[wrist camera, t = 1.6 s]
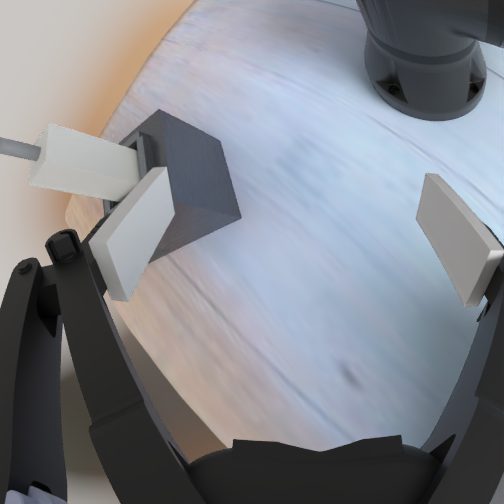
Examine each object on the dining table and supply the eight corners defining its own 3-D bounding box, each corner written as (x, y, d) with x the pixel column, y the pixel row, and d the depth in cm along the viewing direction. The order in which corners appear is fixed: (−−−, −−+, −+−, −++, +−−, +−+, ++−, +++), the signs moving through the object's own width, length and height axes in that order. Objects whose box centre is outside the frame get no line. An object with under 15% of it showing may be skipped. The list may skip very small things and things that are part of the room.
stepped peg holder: (107, 215, 55) (47, 207, 44) (219, 137, 42) (151, 101, 31) (116, 279, 52) (52, 280, 41) (241, 218, 40) (166, 199, 28)
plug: (117, 165, 35) (-8, 133, 20) (139, 146, 33) (6, 103, 18) (121, 202, 34) (-16, 177, 19) (144, 185, 32) (-4, 149, 17)
